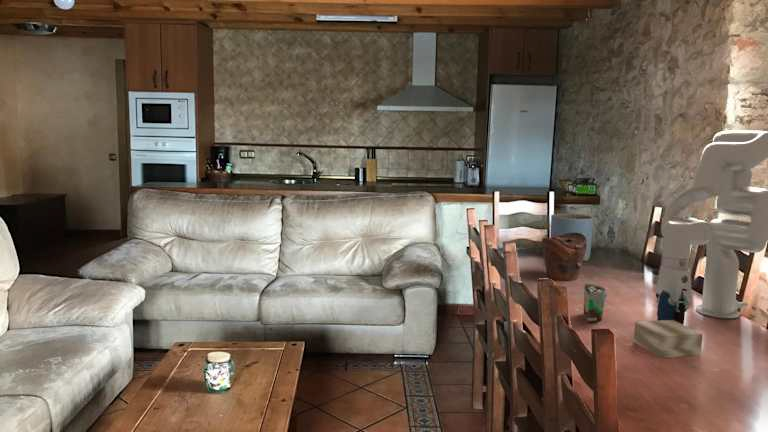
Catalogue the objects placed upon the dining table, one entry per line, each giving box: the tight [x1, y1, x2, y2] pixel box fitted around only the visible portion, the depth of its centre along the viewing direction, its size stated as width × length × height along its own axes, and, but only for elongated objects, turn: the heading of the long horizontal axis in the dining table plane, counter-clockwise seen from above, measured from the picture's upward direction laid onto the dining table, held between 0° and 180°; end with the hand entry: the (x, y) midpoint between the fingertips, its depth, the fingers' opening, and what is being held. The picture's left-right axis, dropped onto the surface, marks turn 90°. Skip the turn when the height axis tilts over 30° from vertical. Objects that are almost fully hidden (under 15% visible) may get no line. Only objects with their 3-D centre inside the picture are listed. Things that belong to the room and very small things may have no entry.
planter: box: [550, 213, 595, 262], centre depth 279 cm, size 19×19×20 cm
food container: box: [582, 283, 608, 324], centre depth 188 cm, size 12×6×10 cm, turn 168°
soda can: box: [656, 291, 682, 321], centre depth 178 cm, size 7×7×12 cm
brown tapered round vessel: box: [540, 233, 587, 281], centre depth 242 cm, size 18×20×18 cm
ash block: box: [633, 320, 703, 359], centre depth 163 cm, size 12×12×6 cm
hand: (670, 319), depth 179 cm, fingers closed on soda can, 6 cm apart
